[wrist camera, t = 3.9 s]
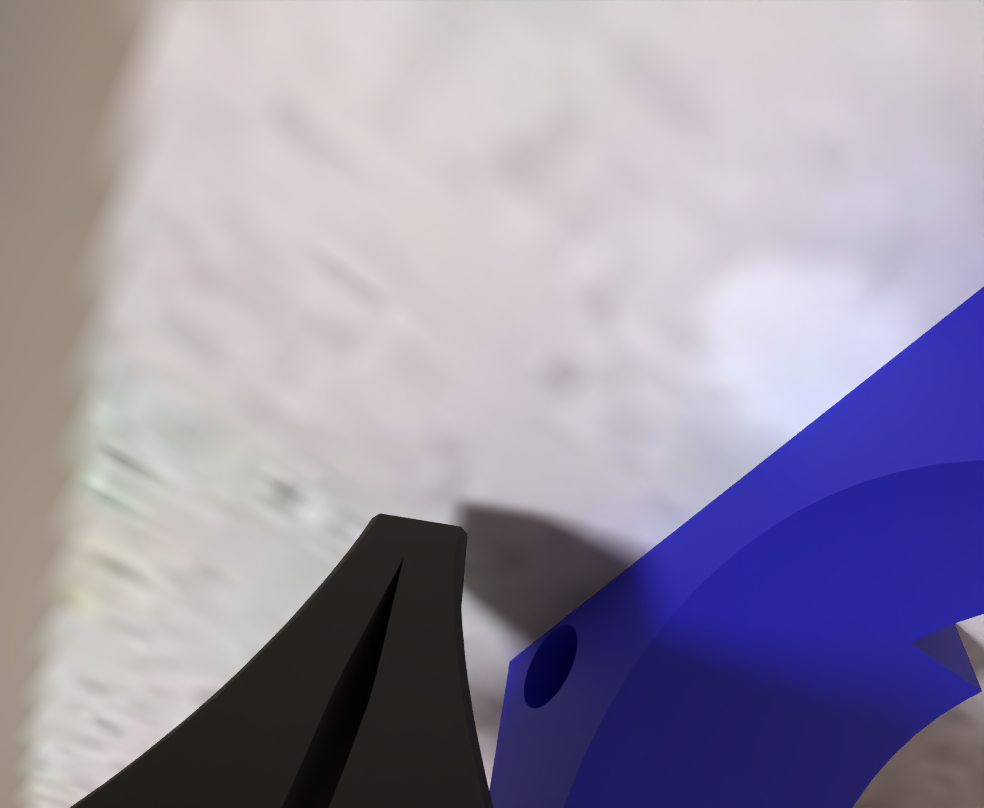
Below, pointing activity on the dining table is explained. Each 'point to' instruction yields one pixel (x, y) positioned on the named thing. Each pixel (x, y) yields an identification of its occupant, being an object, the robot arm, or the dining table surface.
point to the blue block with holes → (777, 616)
